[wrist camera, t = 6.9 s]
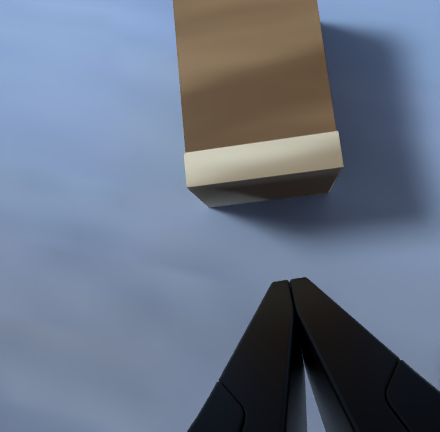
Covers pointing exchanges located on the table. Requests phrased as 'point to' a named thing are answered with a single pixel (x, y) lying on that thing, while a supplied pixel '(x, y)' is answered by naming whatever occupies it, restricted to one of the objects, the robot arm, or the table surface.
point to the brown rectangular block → (255, 100)
